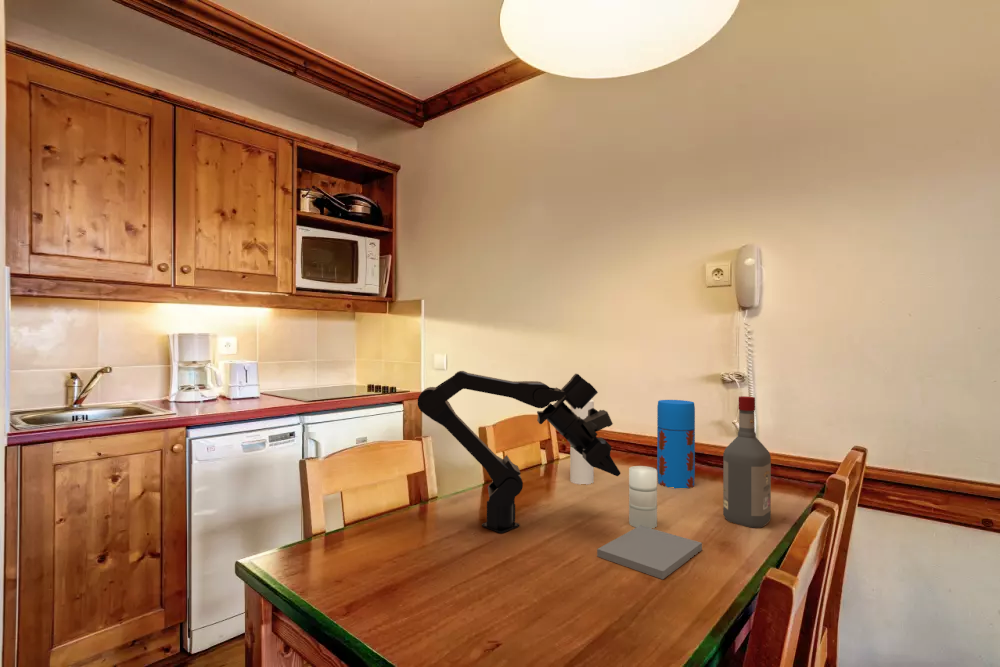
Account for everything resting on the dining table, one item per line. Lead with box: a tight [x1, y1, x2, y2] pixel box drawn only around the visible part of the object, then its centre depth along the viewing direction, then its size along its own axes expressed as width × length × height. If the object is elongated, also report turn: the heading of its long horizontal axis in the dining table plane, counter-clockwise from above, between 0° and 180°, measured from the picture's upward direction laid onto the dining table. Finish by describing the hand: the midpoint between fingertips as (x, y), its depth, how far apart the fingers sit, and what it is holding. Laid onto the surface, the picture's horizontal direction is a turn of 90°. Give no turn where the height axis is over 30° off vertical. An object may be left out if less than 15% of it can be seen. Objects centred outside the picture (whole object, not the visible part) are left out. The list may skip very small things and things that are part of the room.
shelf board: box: [596, 525, 703, 580], centre depth 103 cm, size 18×14×2 cm
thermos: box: [656, 399, 696, 489], centre depth 153 cm, size 11×11×25 cm
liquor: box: [722, 395, 772, 528], centre depth 122 cm, size 9×9×30 cm
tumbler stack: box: [628, 465, 658, 529], centre depth 119 cm, size 6×6×13 cm
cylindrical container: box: [569, 399, 595, 485], centre depth 155 cm, size 7×7×25 cm
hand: (613, 469), depth 119 cm, fingers open, 9 cm apart
